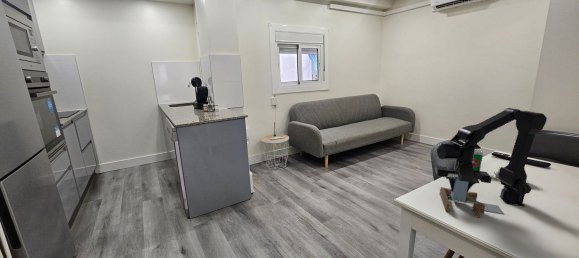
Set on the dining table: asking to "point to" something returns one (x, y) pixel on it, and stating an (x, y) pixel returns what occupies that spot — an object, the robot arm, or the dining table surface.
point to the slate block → (459, 189)
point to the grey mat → (492, 208)
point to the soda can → (477, 160)
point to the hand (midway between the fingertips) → (458, 192)
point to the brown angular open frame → (469, 196)
